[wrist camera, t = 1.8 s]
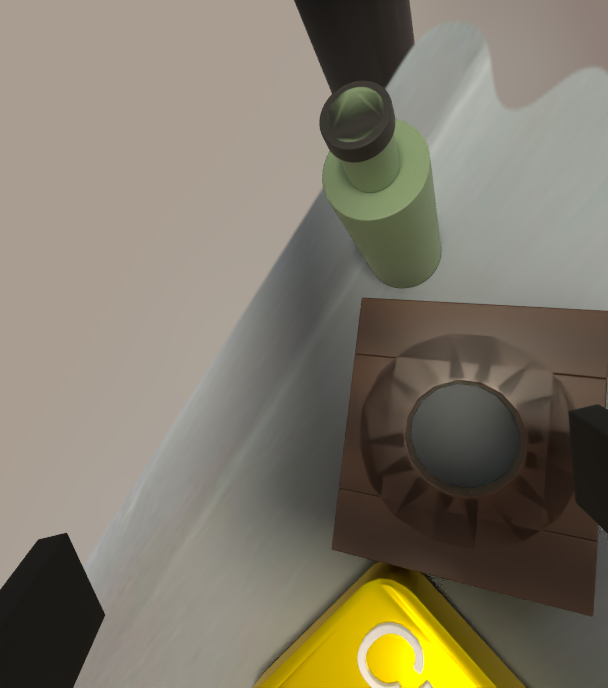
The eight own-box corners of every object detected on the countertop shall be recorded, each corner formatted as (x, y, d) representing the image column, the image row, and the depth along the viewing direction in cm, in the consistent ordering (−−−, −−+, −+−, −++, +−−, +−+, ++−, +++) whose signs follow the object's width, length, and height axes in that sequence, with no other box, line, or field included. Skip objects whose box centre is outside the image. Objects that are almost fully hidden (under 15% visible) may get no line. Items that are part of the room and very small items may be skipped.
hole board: (370, 307, 32) (361, 297, 29) (596, 321, 27) (612, 310, 24) (343, 536, 30) (331, 549, 28) (578, 594, 26) (593, 617, 23)
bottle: (373, 220, 33) (301, 62, 18) (444, 220, 31) (429, 43, 16) (366, 286, 32) (284, 179, 17) (437, 289, 31) (415, 174, 16)
